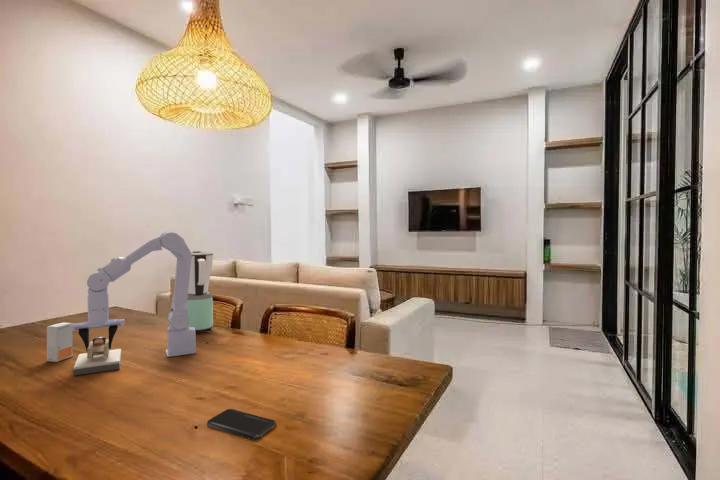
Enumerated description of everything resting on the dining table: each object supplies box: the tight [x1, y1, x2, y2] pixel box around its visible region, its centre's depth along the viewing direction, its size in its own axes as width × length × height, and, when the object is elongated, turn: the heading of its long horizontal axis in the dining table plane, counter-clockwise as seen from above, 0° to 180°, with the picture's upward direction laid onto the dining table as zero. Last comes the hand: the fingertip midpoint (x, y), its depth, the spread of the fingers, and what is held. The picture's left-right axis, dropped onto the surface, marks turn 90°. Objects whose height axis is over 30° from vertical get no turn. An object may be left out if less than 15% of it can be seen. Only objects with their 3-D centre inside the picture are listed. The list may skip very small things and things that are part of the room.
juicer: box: [187, 250, 214, 333], centre depth 169 cm, size 19×13×35 cm
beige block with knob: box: [86, 338, 111, 360], centre depth 128 cm, size 6×10×4 cm, turn 30°
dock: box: [72, 348, 122, 376], centre depth 128 cm, size 12×15×2 cm
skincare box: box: [46, 322, 74, 363], centre depth 134 cm, size 6×4×12 cm
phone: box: [206, 408, 277, 440], centre depth 91 cm, size 8×1×15 cm
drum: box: [92, 335, 107, 346], centre depth 128 cm, size 4×4×2 cm
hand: (98, 349), depth 128 cm, fingers closed on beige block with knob, 5 cm apart
